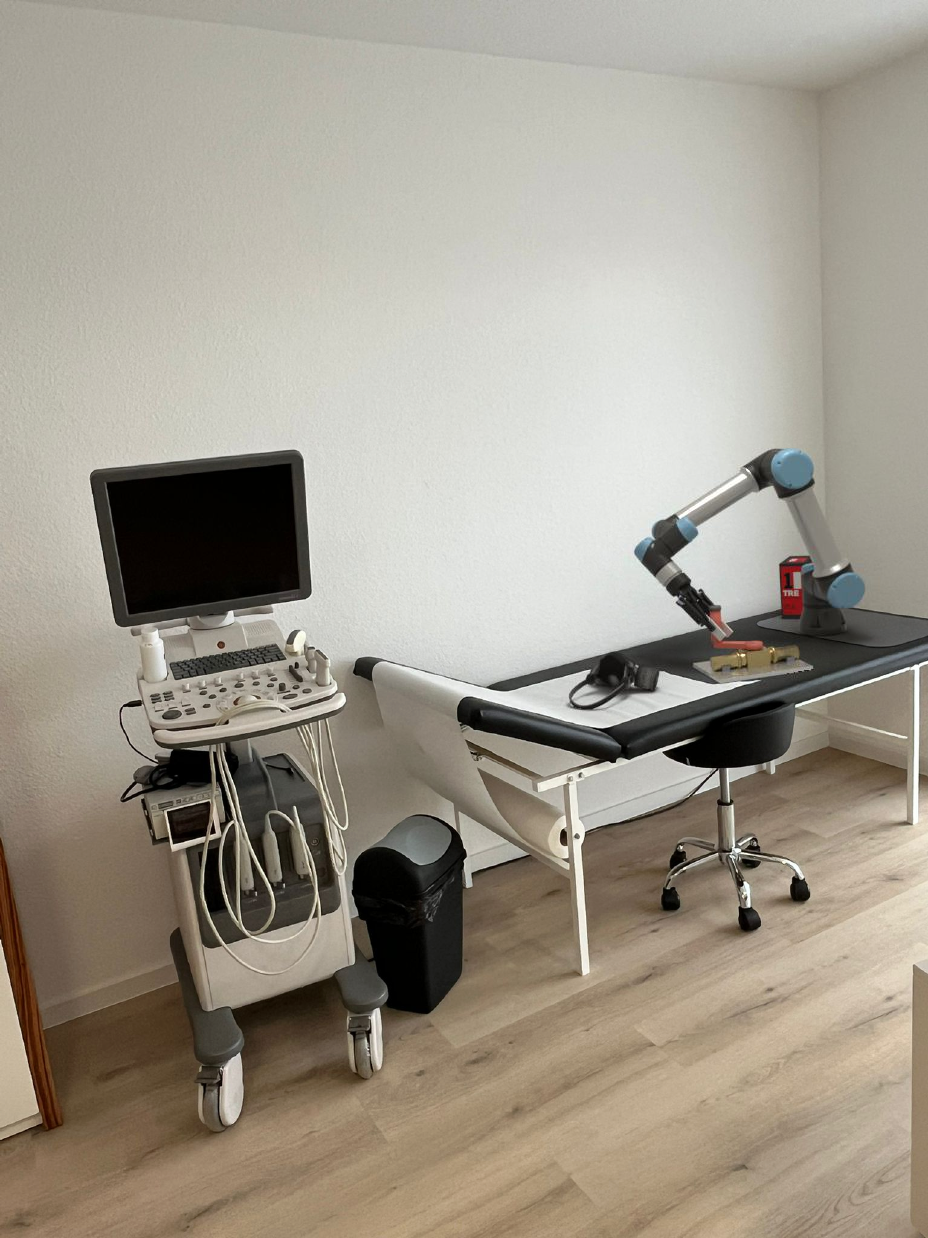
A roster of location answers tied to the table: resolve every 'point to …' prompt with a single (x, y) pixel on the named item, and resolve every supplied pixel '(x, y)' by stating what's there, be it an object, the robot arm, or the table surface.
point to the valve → (753, 664)
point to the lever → (750, 645)
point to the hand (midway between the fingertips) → (726, 636)
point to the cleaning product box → (792, 586)
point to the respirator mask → (617, 677)
